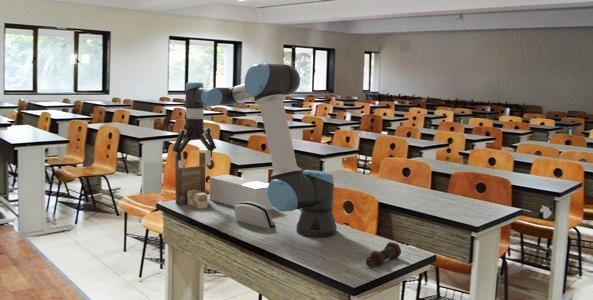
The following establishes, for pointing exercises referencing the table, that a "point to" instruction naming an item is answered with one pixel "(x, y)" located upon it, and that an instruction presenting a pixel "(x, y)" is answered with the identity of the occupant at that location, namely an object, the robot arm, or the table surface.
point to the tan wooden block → (196, 198)
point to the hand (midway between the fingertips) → (194, 166)
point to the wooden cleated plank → (189, 178)
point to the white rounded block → (253, 214)
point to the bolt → (383, 255)
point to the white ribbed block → (238, 191)
